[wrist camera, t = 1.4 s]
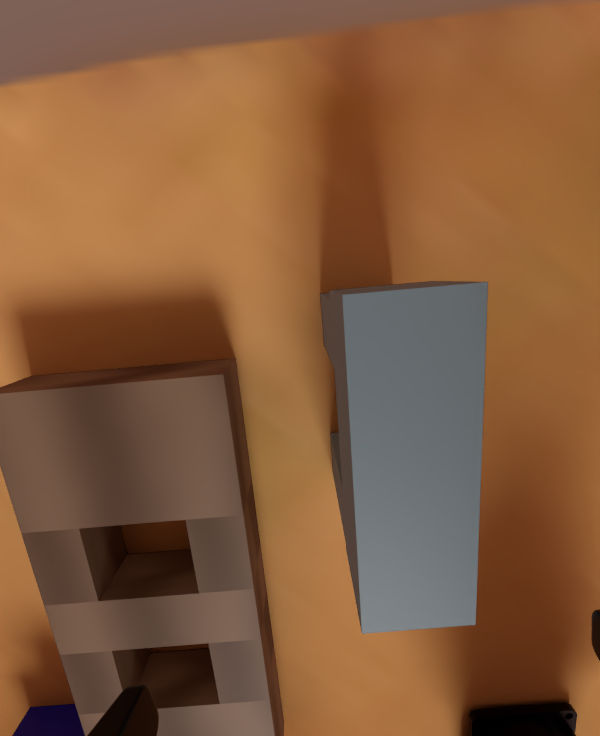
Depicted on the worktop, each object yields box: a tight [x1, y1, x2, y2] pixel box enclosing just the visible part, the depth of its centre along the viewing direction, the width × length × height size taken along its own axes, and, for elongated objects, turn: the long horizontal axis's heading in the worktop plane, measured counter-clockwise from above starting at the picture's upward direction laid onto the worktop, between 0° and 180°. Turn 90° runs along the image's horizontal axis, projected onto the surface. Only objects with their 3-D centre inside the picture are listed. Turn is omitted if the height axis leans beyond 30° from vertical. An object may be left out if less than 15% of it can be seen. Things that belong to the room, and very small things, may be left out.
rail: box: [0, 358, 284, 736], centre depth 19 cm, size 10×24×3 cm, turn 5°
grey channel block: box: [320, 281, 488, 634], centre depth 14 cm, size 3×10×8 cm, turn 5°
